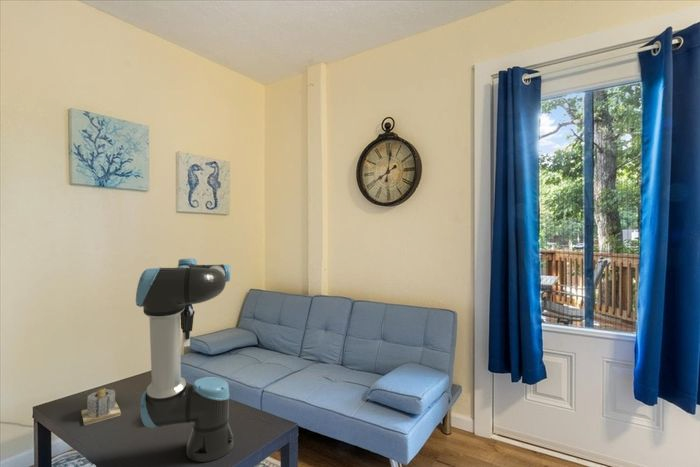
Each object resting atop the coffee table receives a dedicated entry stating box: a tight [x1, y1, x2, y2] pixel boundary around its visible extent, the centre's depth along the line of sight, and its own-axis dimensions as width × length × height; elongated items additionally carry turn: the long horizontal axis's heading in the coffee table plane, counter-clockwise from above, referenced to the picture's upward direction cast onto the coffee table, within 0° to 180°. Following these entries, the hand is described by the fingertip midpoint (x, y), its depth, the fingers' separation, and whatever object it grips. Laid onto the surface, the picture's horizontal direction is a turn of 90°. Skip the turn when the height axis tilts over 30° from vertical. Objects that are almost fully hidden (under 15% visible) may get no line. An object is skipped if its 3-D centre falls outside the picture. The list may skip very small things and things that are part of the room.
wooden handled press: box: [80, 387, 122, 427], centre depth 143 cm, size 12×12×10 cm
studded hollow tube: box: [86, 388, 116, 417], centre depth 143 cm, size 9×9×7 cm
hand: (186, 346), depth 156 cm, fingers closed
